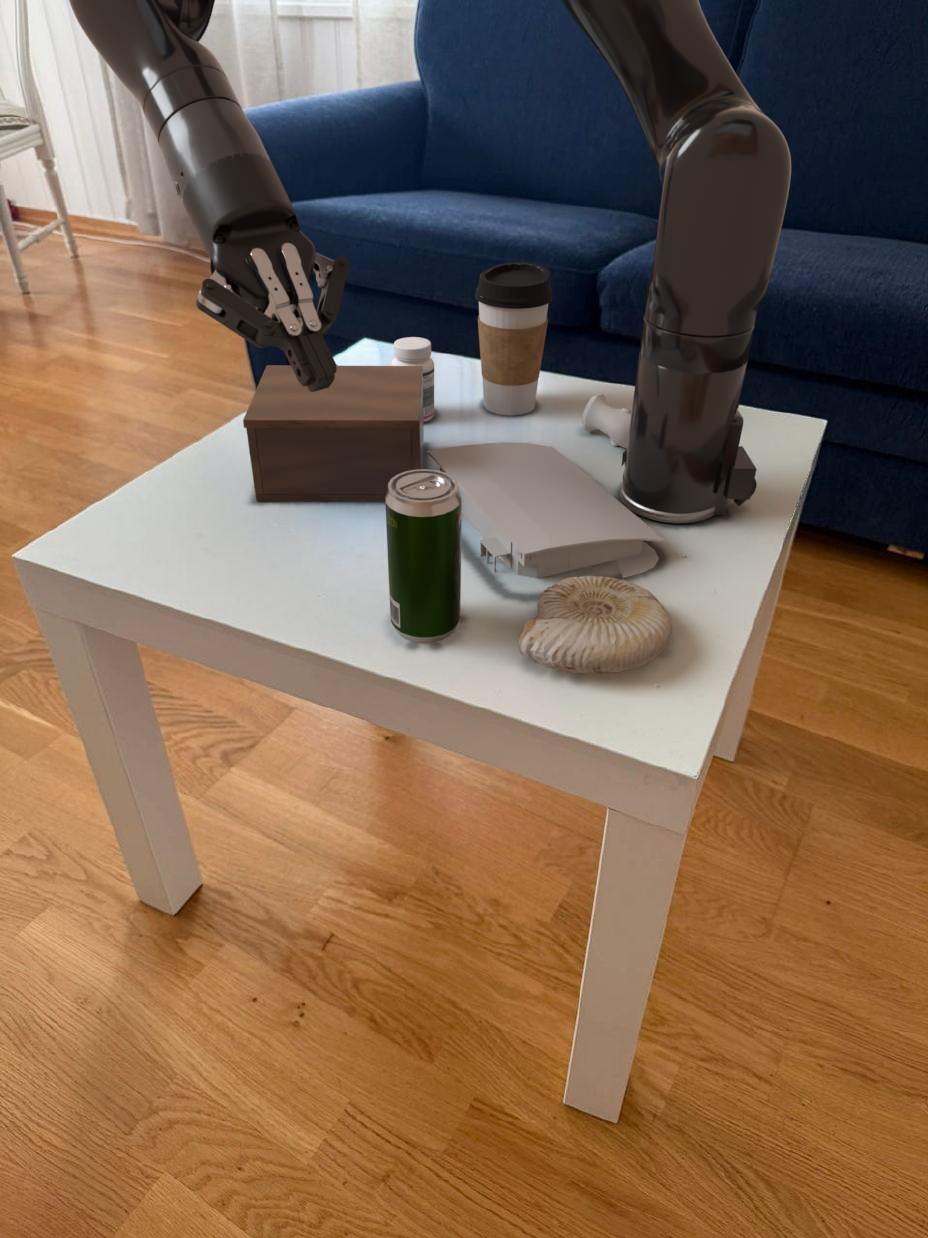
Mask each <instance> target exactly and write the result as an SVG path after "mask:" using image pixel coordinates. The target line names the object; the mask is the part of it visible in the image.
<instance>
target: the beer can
mask: <svg viewBox="0 0 928 1238" xmlns="http://www.w3.org/2000/svg"><path fill="white" fill-rule="evenodd" d="M384 503H385V524H386V525H385V526H386V545H387V546H386V547H387V549H386V550H387V565H388V566H387V568H388V569H387V570H388V571H387V572H388V592H389V594H388V595H389V614H390V615H389V616H390V617H389V618H390V623H391V625H392V626H393V628H394V630H395V631H396V633H397V634H398V635H399V636H400V637H402V638H403V639H404V640H407V641H409V642H412V643H418V644H430V643H432V644H433V643H436V642H441V641H443V640H445V639H447V638H449V637H450V636H451V635H452V634H453V633H454V632H455V631H456V629H457V627H458V626H459V623H460V620H461V597H462V596H461V593H462V591H461V590H462V589H461V588H462V585H461V584H462V516H463V514H462V498H461V494H460V492H459V486H458V482H457V480H456V479H455V478H454V477H453V476H451V475H449V474H447V473H445V472H441V471H440V470H437V469H428V468H423V469H418V470H411V471H405V472H403V473H400V474H398V475H396V476H394V477H393V478H392V479H391V480H390V481H389V483H388V492H387V494H386V496H385V502H384Z"/></svg>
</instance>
